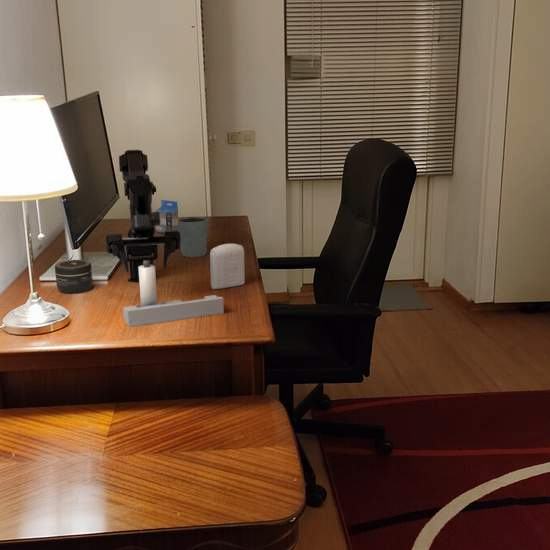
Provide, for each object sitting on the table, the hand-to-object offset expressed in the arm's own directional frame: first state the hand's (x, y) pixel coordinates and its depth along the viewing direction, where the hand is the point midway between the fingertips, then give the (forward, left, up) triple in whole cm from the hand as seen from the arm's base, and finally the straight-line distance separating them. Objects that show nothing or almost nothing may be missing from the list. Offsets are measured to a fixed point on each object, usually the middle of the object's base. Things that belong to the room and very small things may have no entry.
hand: (146, 270), depth 174 cm
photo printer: (+12, +26, -11) cm, 31 cm away
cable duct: (+8, -2, -11) cm, 14 cm away
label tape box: (-35, +88, -11) cm, 95 cm away
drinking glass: (-12, +59, -11) cm, 61 cm away
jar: (-29, +12, -11) cm, 33 cm away
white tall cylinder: (+2, -4, -11) cm, 12 cm away
